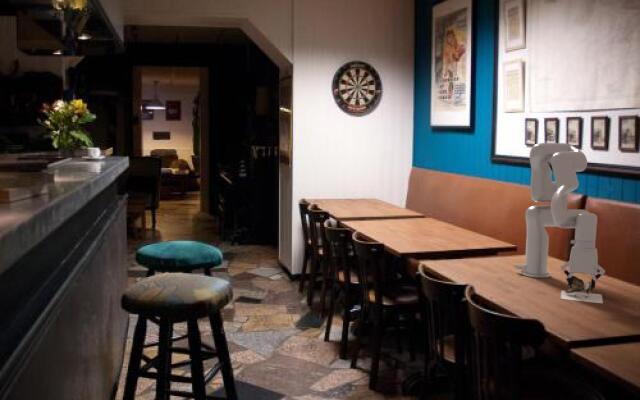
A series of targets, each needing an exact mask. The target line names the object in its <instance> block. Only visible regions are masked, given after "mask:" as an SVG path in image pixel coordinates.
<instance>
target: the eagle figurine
mask: <svg viewBox="0 0 640 400" xmlns="http://www.w3.org/2000/svg"><path fill="white" fill-rule="evenodd" d="M565 279H566V282H568V280H569V278H568V277H566V278H565ZM572 286H576V287H572V288H569V289H567V290H564V291H565V293H572V292H585V293H587V294H588V295H589V293H590V291H591V280H590V281H589V282H586V283H585V281H583V279H581V278H578V277H577V276H576V275H572Z"/></svg>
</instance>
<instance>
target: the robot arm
mask: <svg viewBox="0 0 640 400" xmlns="http://www.w3.org/2000/svg"><path fill="white" fill-rule="evenodd" d="M548 163H551V164H550V165H551V167H550V165H549V164H548ZM529 164H530V168H531V176H530V199H531V201H533V202H535V203H550V205H549V204H547V205H546V204H544V205H543V204H542V205H537V204H536V205H532V206H531V205H530V206H529V207H528V208H527V209H526V211H525V216H524V218H525V225H526V238H525V239H526V240H525V255H524V256H525V257H524V260H525V261H524V263H522V264H518V263H514V269H517V270H521V271H520V274H521V275H523V276H525V277H529V278H540V279H541V278H542V279H544V278H549V277H551V273H550V271H548V261H549V260H548V259H549V256H548V255H549V246H550V245H549V243H550V242H549V241H550V237H549V234H548V231H547V230H546V229H545V227H546V228H547V227H551V228H552V227H555V228H556V227H558V228H560V229H575V231H574V239H571V240H570V244H571V245H573V246H571V250H570V255H569V260H568V261H567V262H565V263H564V264H563V265H561V266H560V270H562V271H563V273H564V274H565V275H566V276H567V278H569V280H568V281H567V285H568V286H569V289H571V288H573V285H572V276H574V274H580V275H581V274H583V275H590V276H591V280H590V281H591V283H590V285H591V286H590V291H593V290H594V289H595V288H596V281H597V280H598V279H600V278H601V277H602V276H603V275H604V274H605V273H606V271H605V269H604V268H603V267H601V266H600V264H598V256H599V255H598V248H596V239H597V227H598V226H597V225H598V216H597V214H595V213H593V212H589V211H588V210H586V209H568V199H569V197H568V196H569V193H571V192H573V191H575V190H577V189H578V187H579V185H580V183H579V180H578V176H577V173H579V172H584V171H585V170H586V169H587V166H588V159H587V156H586V155H585V154H584V152H583V151H581V150H580V149H579V148H577V147H576V146H575V145H572V144H571V143H565V142H564V143H563V142H541V143H536V144H534V145H533V146H532V147H531V149H530V151H529ZM551 168H552V169H551ZM552 175H553V176H554V177H553V178H554V181H553V180H552ZM567 267H568V270H569V271H568V270H567ZM598 270H599V272H598ZM597 272H598V273H597Z"/></svg>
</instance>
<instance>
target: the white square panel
mask: <svg viewBox="0 0 640 400" xmlns="http://www.w3.org/2000/svg"><path fill="white" fill-rule="evenodd" d="M565 291H566V290H563V289H562V290H561V291H560V299H561V300H567V301H568V300H569V301H577V302H586V303H596V304H604V301H603V295H602V294H600V293H590V292H589V295H588V294H587V292H583V291H580V292H572V293H565Z"/></svg>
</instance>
